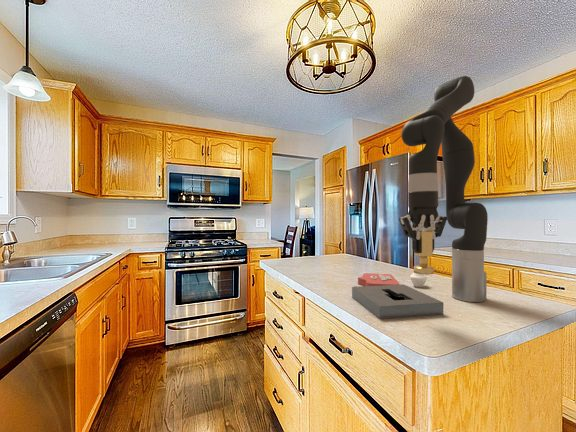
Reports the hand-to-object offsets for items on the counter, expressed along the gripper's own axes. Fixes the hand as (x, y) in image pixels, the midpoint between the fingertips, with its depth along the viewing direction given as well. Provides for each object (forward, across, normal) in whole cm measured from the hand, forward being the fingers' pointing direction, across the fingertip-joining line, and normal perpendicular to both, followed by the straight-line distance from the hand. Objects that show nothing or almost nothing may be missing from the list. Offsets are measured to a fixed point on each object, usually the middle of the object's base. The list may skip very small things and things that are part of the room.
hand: (423, 252), depth 74 cm
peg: (+6, 0, 0) cm, 6 cm away
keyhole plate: (+19, +2, -12) cm, 23 cm away
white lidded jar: (+19, -21, -31) cm, 42 cm away
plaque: (+20, -5, -36) cm, 41 cm away
